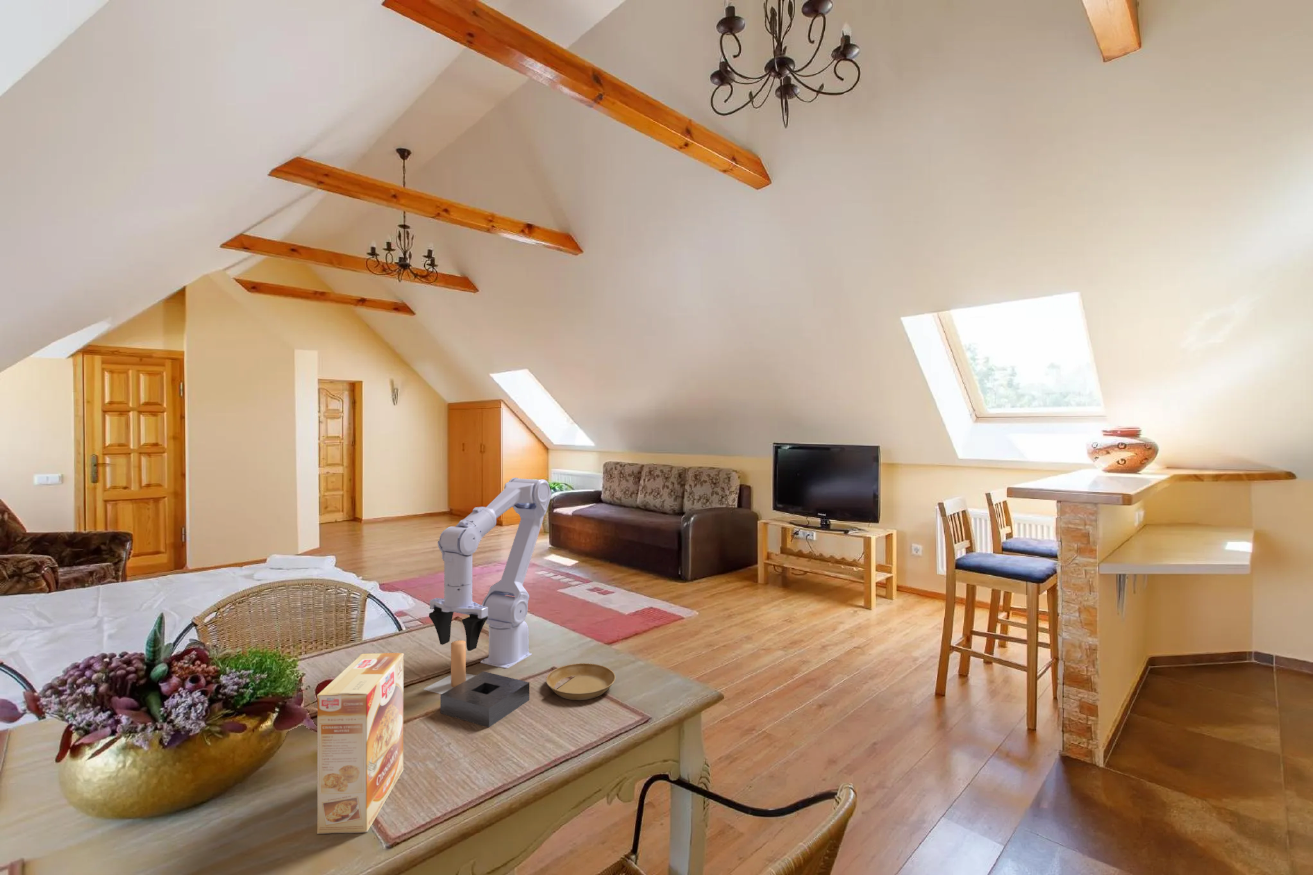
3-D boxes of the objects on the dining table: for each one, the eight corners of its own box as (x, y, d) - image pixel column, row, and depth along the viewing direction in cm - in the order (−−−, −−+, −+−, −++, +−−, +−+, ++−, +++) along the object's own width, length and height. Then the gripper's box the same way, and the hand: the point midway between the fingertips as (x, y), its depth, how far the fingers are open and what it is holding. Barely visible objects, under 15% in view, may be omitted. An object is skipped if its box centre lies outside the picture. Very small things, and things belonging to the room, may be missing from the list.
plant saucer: (627, 682, 130) (627, 670, 130) (592, 711, 116) (593, 698, 116) (570, 669, 136) (570, 658, 136) (531, 696, 123) (531, 684, 123)
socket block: (483, 689, 125) (483, 671, 125) (529, 701, 120) (529, 682, 120) (440, 715, 114) (440, 694, 114) (489, 729, 109) (489, 707, 109)
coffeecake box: (368, 833, 81) (367, 693, 81) (314, 835, 81) (313, 695, 80) (405, 769, 96) (405, 651, 96) (360, 771, 96) (360, 652, 95)
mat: (457, 672, 133) (457, 671, 133) (492, 681, 129) (492, 679, 129) (423, 690, 124) (423, 689, 124) (459, 700, 120) (459, 698, 120)
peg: (458, 680, 129) (458, 639, 128) (468, 682, 127) (468, 641, 127) (447, 685, 126) (447, 643, 126) (458, 688, 125) (458, 646, 124)
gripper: (418, 583, 125) (418, 646, 126) (471, 592, 119) (471, 658, 120) (443, 575, 132) (443, 635, 132) (494, 583, 126) (494, 646, 126)
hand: (458, 646), depth 126 cm, fingers open, 7 cm apart
